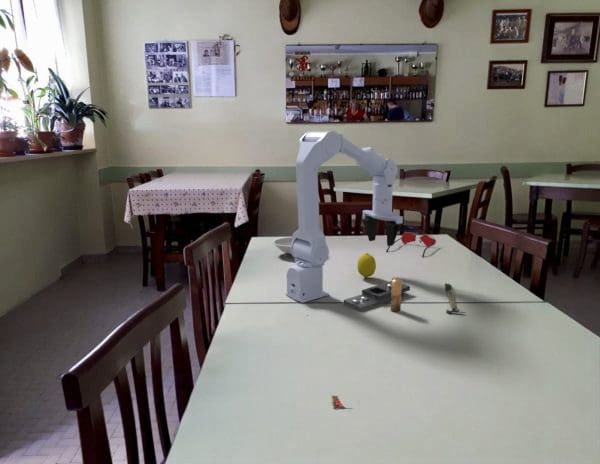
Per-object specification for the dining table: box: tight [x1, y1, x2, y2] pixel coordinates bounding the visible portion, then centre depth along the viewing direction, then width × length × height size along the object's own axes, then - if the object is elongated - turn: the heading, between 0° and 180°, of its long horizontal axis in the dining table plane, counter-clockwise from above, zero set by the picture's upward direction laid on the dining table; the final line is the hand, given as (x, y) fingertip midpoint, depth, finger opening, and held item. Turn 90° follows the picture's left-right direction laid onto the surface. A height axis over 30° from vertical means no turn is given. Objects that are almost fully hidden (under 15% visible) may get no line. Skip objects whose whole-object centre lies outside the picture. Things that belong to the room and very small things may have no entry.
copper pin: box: [390, 278, 403, 313], centre depth 112 cm, size 2×2×8 cm
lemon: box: [356, 252, 377, 279], centre depth 136 cm, size 6×6×8 cm
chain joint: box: [343, 280, 411, 312], centre depth 120 cm, size 19×6×3 cm, turn 127°
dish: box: [271, 236, 293, 255], centre depth 162 cm, size 18×14×5 cm
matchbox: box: [330, 394, 359, 410], centre depth 76 cm, size 5×5×1 cm
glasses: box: [385, 232, 437, 258], centre depth 168 cm, size 14×16×5 cm
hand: (381, 243), depth 138 cm, fingers open, 7 cm apart
